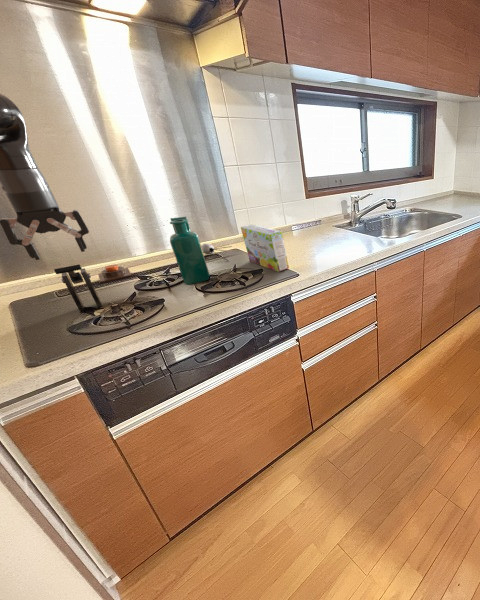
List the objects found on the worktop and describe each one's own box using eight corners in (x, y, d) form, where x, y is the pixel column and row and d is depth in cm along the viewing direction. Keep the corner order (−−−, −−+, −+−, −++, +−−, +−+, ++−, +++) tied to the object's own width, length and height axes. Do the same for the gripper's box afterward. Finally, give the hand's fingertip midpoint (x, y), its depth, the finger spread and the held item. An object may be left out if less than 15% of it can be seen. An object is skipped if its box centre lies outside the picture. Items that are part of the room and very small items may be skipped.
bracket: (113, 312, 97) (95, 272, 92) (73, 322, 92) (51, 281, 86) (110, 301, 104) (93, 264, 98) (73, 311, 99) (52, 272, 93)
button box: (133, 280, 120) (129, 270, 119) (102, 287, 115) (97, 276, 113) (129, 272, 128) (125, 263, 126) (100, 279, 122) (95, 269, 120)
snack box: (248, 262, 136) (239, 226, 129) (260, 258, 140) (252, 223, 133) (277, 272, 124) (269, 233, 117) (290, 268, 128) (283, 230, 121)
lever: (82, 270, 86) (78, 261, 86) (56, 275, 83) (52, 266, 83) (90, 280, 96) (87, 273, 96) (67, 285, 93) (64, 277, 93)
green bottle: (211, 280, 118) (193, 220, 109) (184, 285, 114) (163, 223, 105) (209, 272, 126) (191, 215, 116) (184, 277, 122) (163, 218, 112)
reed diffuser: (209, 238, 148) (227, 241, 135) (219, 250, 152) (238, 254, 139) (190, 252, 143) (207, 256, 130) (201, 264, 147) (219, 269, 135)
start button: (119, 270, 120) (117, 266, 119) (107, 273, 117) (105, 268, 117) (118, 268, 122) (116, 263, 121) (106, 270, 120) (104, 266, 119)
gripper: (68, 185, 83) (96, 246, 90) (-16, 191, 75) (23, 258, 82) (68, 187, 78) (97, 251, 85) (-21, 194, 70) (20, 265, 77)
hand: (61, 255), depth 84 cm, fingers open, 8 cm apart
